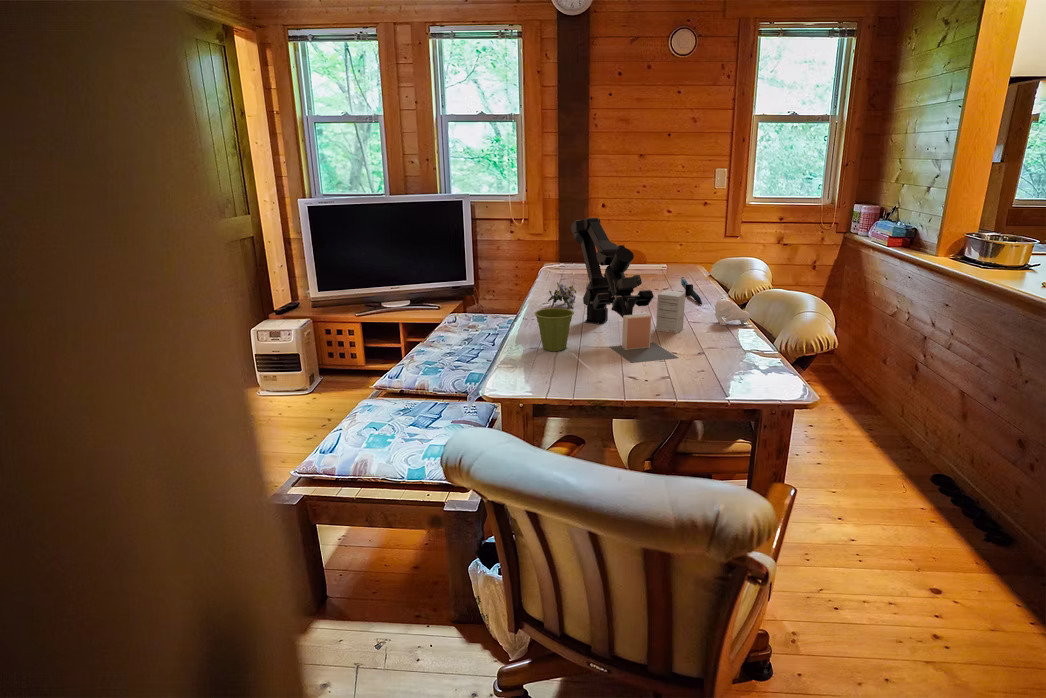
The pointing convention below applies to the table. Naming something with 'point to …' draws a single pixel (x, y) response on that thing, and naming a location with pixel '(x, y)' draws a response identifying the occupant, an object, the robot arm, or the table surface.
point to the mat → (644, 353)
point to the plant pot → (554, 327)
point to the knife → (690, 290)
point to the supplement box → (670, 311)
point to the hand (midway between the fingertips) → (630, 322)
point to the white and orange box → (636, 331)
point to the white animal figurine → (730, 312)
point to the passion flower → (564, 295)
